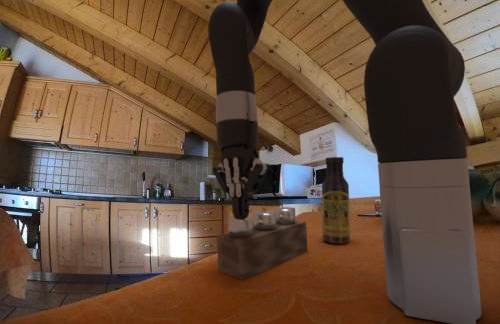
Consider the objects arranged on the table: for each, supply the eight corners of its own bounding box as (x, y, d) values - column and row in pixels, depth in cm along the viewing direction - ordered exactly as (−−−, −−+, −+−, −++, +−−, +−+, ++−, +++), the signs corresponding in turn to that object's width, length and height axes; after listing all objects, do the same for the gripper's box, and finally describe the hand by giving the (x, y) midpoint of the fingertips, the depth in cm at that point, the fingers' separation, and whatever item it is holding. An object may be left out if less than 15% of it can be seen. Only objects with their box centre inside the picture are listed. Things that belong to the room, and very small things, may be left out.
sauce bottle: (322, 244, 57) (317, 157, 58) (323, 237, 63) (318, 158, 64) (353, 245, 55) (347, 155, 56) (351, 238, 61) (345, 157, 62)
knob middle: (273, 253, 46) (271, 215, 46) (251, 251, 48) (249, 214, 48) (281, 247, 50) (279, 211, 50) (260, 245, 52) (259, 211, 52)
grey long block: (283, 245, 58) (281, 219, 58) (307, 250, 53) (305, 221, 53) (218, 270, 44) (216, 236, 44) (243, 280, 39) (242, 241, 40)
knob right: (293, 245, 50) (291, 210, 51) (273, 243, 52) (271, 209, 53) (299, 239, 54) (297, 207, 55) (279, 238, 56) (278, 207, 57)
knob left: (248, 263, 41) (246, 220, 41) (225, 261, 43) (223, 219, 43) (259, 255, 45) (257, 216, 45) (237, 253, 47) (236, 215, 47)
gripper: (198, 125, 47) (201, 217, 46) (248, 110, 38) (253, 225, 37) (228, 129, 53) (232, 212, 52) (278, 117, 43) (283, 218, 43)
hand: (241, 217), depth 45 cm, fingers closed
